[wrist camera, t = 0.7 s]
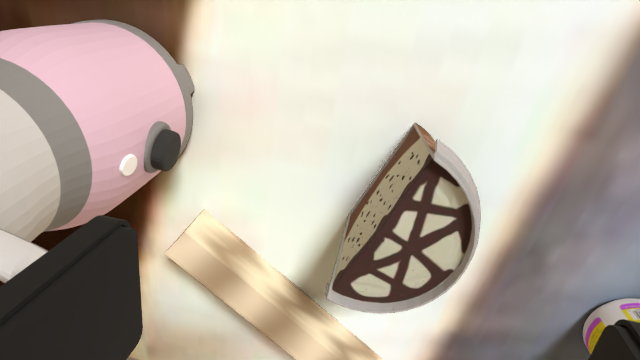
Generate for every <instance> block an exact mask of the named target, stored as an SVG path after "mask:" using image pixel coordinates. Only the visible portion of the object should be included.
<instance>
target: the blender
mask: <svg viewBox="0 0 640 360" xmlns="http://www.w3.org/2000/svg"><path fill="white" fill-rule="evenodd" d="M193 92H194V85H193V82H192V80H191V77H190V75H189V73H188V71H187V69H186V67H185V66H184V65H183V64H179V65H177V64H176V62H175V61H174V59H173V58H172V57H171V56H170V54H169V53H168V52H167V51H166V50H165V49H164V48H163V47H162V46H161V45H160V44H159V43H158V42H157V41H156V40H154V39H153V38H152V37H150V36H149V35H148V34H146V33H144V32H143V31H141V30H139V29H137V28H135V27H133V26H131V25H128V24H125V23H122V22H118V21H112V20H90V21H81V22H77V23H73V24H66V25H53V26H42V27H32V28H22V29H13V30H6V31H0V281H2V282H4V283H6V282H7V281H9V280H10V279H11V278H13V277H14V276H15V275H17V274H18V273H19V272H21V271H22V270H23V269H25V268H26V267H28V266H29V265H30V264H32V263H33V262H34V261H36V260H37V259H38V258H40V257H41V256H42V255H44V254H45V253H47V252H48V251H47V250H45V249H43V248H41V247H40V246H38V245H36V244H33V243H31V241H33V240H34V239H35V238H36V237H37V236H38V235H39V234H40V233H42V232H45V231H54V230H61V229H68V228H72V227H75V226H79V225H82V224H85V223H87V222H89V221H90V220H91V219H93V218H94V217H96V216H98V215H104V214H106V213H108V212H109V211H110V210H112V209H113V208H115V207H116V206H117V205H119V204H120V203H121V202H123V201H124V200H125V199H127V198H128V197H129V196H131V195H132V194H133V193H134V192H136V191H137V190H138V189H139V188H141V187H142V186H143V185H145V184H146V183H147V182H148V181H149V180H151V179H152V178H153V177H154V176H156V175H157V174H158V173H159V172H161V171H168V170H170V169H171V168H172V167H173V166H174V164H175V163H176V161H177V158H178V157H179V156H180V154H181V153H182V152H183V150H184V148H185V147H186V145H187V142H188V140H189V137H190V134H191V130H192V123H193V107H192V100H191V94H192V93H193Z"/></svg>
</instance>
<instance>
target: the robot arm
mask: <svg viewBox="0 0 640 360" xmlns="http://www.w3.org/2000/svg"><path fill="white" fill-rule="evenodd" d="M142 328H143V325H142V309H141V292H140V276H139V260H138V243H137V233H136V231H135V230H134V229H132V228H131V227H130V224H129V222H128V221H126V220H123V219H118V218H113V217H108V216H103V215H98V216H96V217H94V218H93V219H91V220H90V221H89V222H87V223H86V224H84V225H83V226H82V227H80V228H79V229H78V230H76V231H75V232H74V233H72V234H71V235H70V236H68V237H67V238H65V239H64V240H63V241H61V242H60V243H59V244H57V245H56V246H55V247H53V248H52V249H51V250H49V251H48V252H47V253H45V254H44V255H42V256H41V257H40V258H38V259H37V260H36V261H34V262H33V263H32V264H30V265H29V266H28V267H26V268H25V269H23V270H22V271H21V272H19V273H18V274H17V275H15V276H14V277H13V278H11V279H10V280H9V281H7V282H6V283H5V284H3V285H2V286H0V360H126V359H127V358H128V356H129V355H130V354H131V352H132V351H133V350H134V348H135V347H136V346H137V344H138V342H139V340H140V338H141V335H142ZM588 360H640V322H635V321H630V320H625V319H621V320H618V321H617V322H615V324H614V325H608V326H606V327H605V328H604V330H603V332H602V334H601V336H600V338H599V340H598V342H597V344H596V346H595V348H594V350H593V352H592V354H591V356H590V357H589V359H588Z"/></svg>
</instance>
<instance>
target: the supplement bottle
mask: <svg viewBox="0 0 640 360" xmlns="http://www.w3.org/2000/svg"><path fill="white" fill-rule="evenodd" d="M621 319H625V320H630V321H635V322H640V299H635V298H625V299H619V300H614V301H611V302H609V303H606V304H604V305H602V306H600V307H599V308H597V309H596V310H595V311H593V312H592V313H591V314H590V316H589V317H588V318H587V320H586V322H585V324H584V327H583V340H584V343H585V345H586V347H587V349H588V351H589V353H590V355H591V354H592V352H593V350H594V348H595V346H596V344H597V342H598V340H599V338H600V336H601V334H602V332H603V330H604V328H605V327H606V326H608V325H614V324H615V322H617V321H618V320H621Z"/></svg>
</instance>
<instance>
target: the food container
mask: <svg viewBox="0 0 640 360" xmlns="http://www.w3.org/2000/svg"><path fill="white" fill-rule="evenodd" d="M480 220H481V212H480V200H479V196H478V192H477V188H476V186H475V183H474V181H473V179H472V177H471V174H470V173H469V171H468V170H467V168H466V167H465V165H464V164H463V162H462V161H461V160H460V159H459V158H458V157H457V155H456V154H455V153H454V152H453V151H452V150H451V149H450V148H448V147H447V146H446V145H444V144H443V143H442V142H440V141H439V140H438V139H437V140H436V142H435V141H434V140H433V138H432V137H431V135H430V134H429V133H428V132H427V131H426V130H425V129H424V128H422V127H421V126H419V125H418V124H417V123H414V124H413V126H412V127H411V129H410V130H409V131H408V133H407V134H406V136H405V137H404V138H403V140H402V141H401V142H400V144H399V145H398V147H397V148H396V149H395V151H394V152H393V154H392V155H391V156H390V158H389V159H388V160H387V162H386V163H385V165H384V166H383V167H382V169H381V170H380V172H379V173H378V174H377V176H376V177H375V179H374V180H373V181H372V183H371V184H370V185H369V187H368V188H367V190H366V191H365V192H364V194H363V195H362V197H361V198H360V199H359V201H358V202H357V203H356V205H355V206H354V208H353V209H352V210H351V212H350V213H349V215H348V219H347V222H346V226H345V230H344V233H343V237H342V241H341V245H340V248H339V252H338V256H337V259H336V263H335V267H334V271H333V274H332V278H331V282H330V284H328V283H327V285H326V296H327V298H326V299H327V300H329V301H331V302H333V303H335V304H338V305H340V306H343V307H346V308H349V309H352V310H357V311H362V312H369V313H395V312H401V311H407V310H410V309H414V308H417V307H420V306H422V305H425V304H427V303H429V302H431V301H433V300H435V299H436V298H438V297H439V296H441V295H442V294H444V293H445V292H446V291H448V290H449V289H450V288H451V287H452V286H453V285H454V284H455V283H456V282H457V281H458V279H459V278H460V277H461V276H462V274H463V273H464V272H465V270H466V269H467V267H468V265H469V263H470V261H471V260H472V258H473V256H474V253H475V250H476V247H477V244H478V239H479V232H480Z"/></svg>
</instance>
